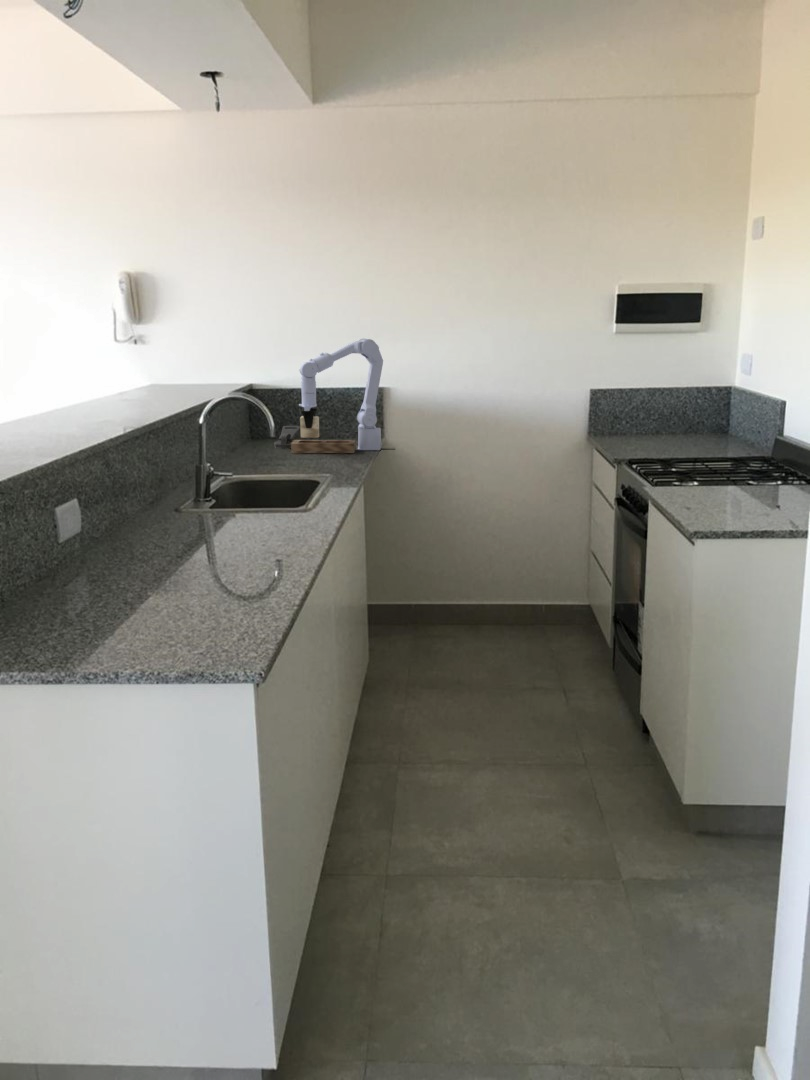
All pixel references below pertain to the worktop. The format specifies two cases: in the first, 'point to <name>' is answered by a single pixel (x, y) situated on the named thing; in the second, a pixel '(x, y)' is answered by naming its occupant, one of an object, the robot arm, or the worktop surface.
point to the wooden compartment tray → (323, 446)
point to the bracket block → (309, 432)
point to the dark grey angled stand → (286, 437)
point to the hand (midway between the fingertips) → (309, 427)
